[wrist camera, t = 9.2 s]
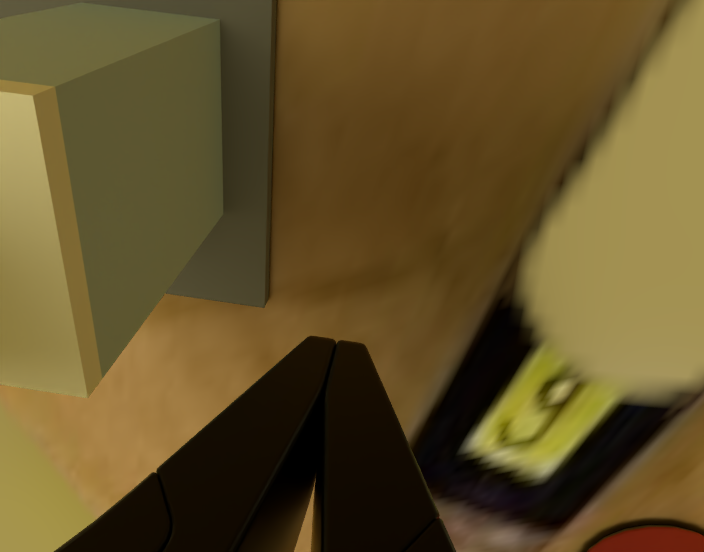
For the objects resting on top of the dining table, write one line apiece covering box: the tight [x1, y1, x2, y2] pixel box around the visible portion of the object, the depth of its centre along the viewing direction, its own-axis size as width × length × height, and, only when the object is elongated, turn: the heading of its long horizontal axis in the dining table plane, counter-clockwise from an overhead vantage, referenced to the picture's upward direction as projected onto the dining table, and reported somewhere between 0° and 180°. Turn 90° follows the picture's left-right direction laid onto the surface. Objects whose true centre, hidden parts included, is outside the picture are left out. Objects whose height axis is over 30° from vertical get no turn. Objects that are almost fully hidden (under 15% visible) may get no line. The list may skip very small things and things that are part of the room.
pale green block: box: [0, 3, 223, 398], centre depth 14 cm, size 4×6×9 cm, turn 174°
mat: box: [0, 0, 277, 308], centre depth 18 cm, size 16×13×1 cm
